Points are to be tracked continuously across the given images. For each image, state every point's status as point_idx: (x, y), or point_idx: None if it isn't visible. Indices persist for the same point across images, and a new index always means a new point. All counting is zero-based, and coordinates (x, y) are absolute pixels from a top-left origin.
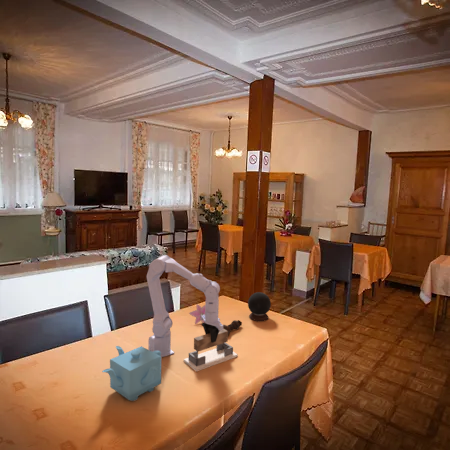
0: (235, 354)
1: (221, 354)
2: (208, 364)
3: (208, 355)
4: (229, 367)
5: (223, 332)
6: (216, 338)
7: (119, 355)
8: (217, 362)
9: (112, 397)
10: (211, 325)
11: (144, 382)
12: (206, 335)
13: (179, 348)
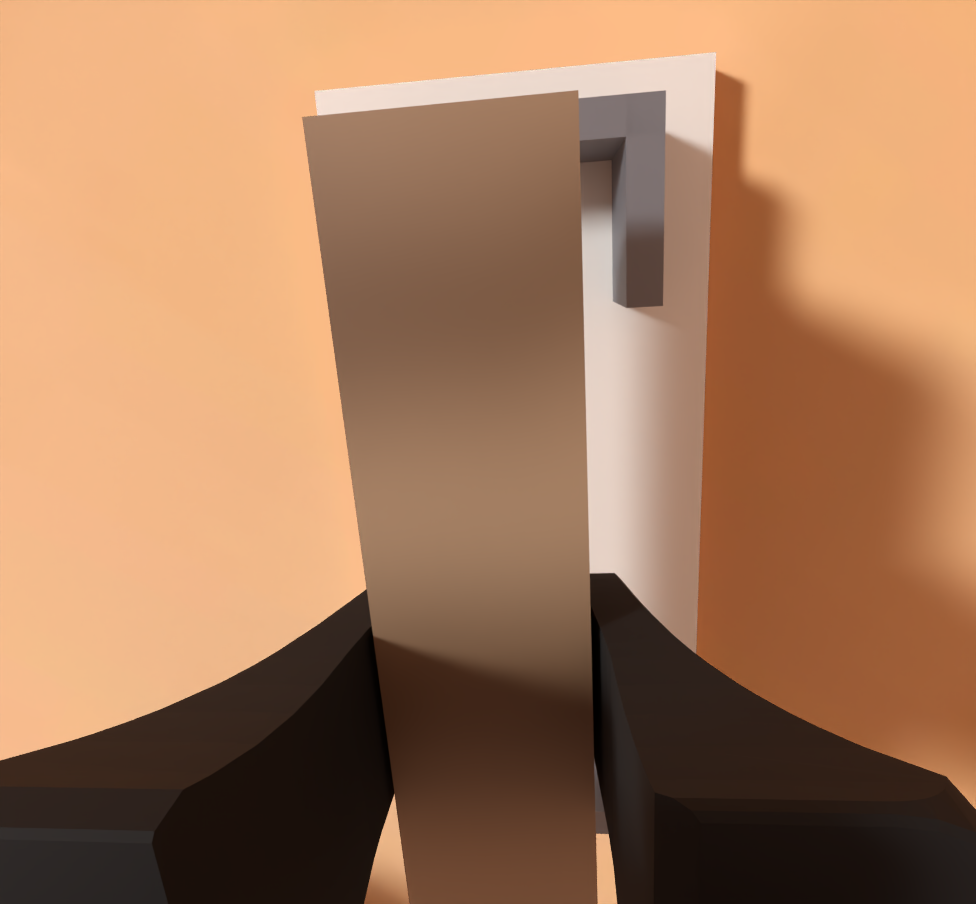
0: (697, 96)
1: None
2: (689, 628)
3: None
4: (882, 390)
5: (583, 326)
6: (640, 607)
7: None
8: (698, 485)
9: None
10: (271, 863)
11: None
12: (472, 848)
13: (97, 663)
